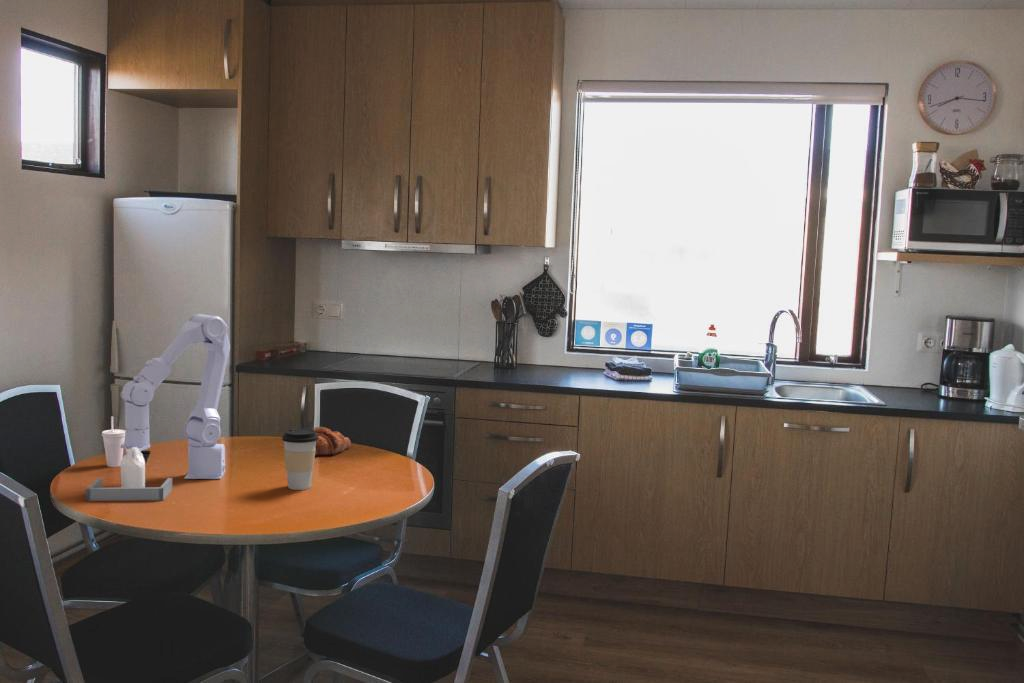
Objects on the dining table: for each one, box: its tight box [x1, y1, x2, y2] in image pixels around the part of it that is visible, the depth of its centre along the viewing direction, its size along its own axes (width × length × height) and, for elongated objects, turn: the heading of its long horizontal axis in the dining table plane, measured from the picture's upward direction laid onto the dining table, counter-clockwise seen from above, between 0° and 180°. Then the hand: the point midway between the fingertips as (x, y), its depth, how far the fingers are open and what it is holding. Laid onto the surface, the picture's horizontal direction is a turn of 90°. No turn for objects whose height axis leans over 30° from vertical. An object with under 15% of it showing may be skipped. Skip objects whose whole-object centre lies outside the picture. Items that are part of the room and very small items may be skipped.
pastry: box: [312, 426, 352, 457], centre depth 280 cm, size 17×15×8 cm
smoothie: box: [101, 416, 125, 468], centre depth 254 cm, size 6×6×14 cm
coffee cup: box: [281, 427, 319, 491], centre depth 239 cm, size 9×9×15 cm
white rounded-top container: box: [120, 447, 146, 488], centre depth 229 cm, size 6×12×6 cm
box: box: [85, 477, 173, 502], centre depth 227 cm, size 18×10×3 cm, turn 98°
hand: (137, 479), depth 234 cm, fingers closed
